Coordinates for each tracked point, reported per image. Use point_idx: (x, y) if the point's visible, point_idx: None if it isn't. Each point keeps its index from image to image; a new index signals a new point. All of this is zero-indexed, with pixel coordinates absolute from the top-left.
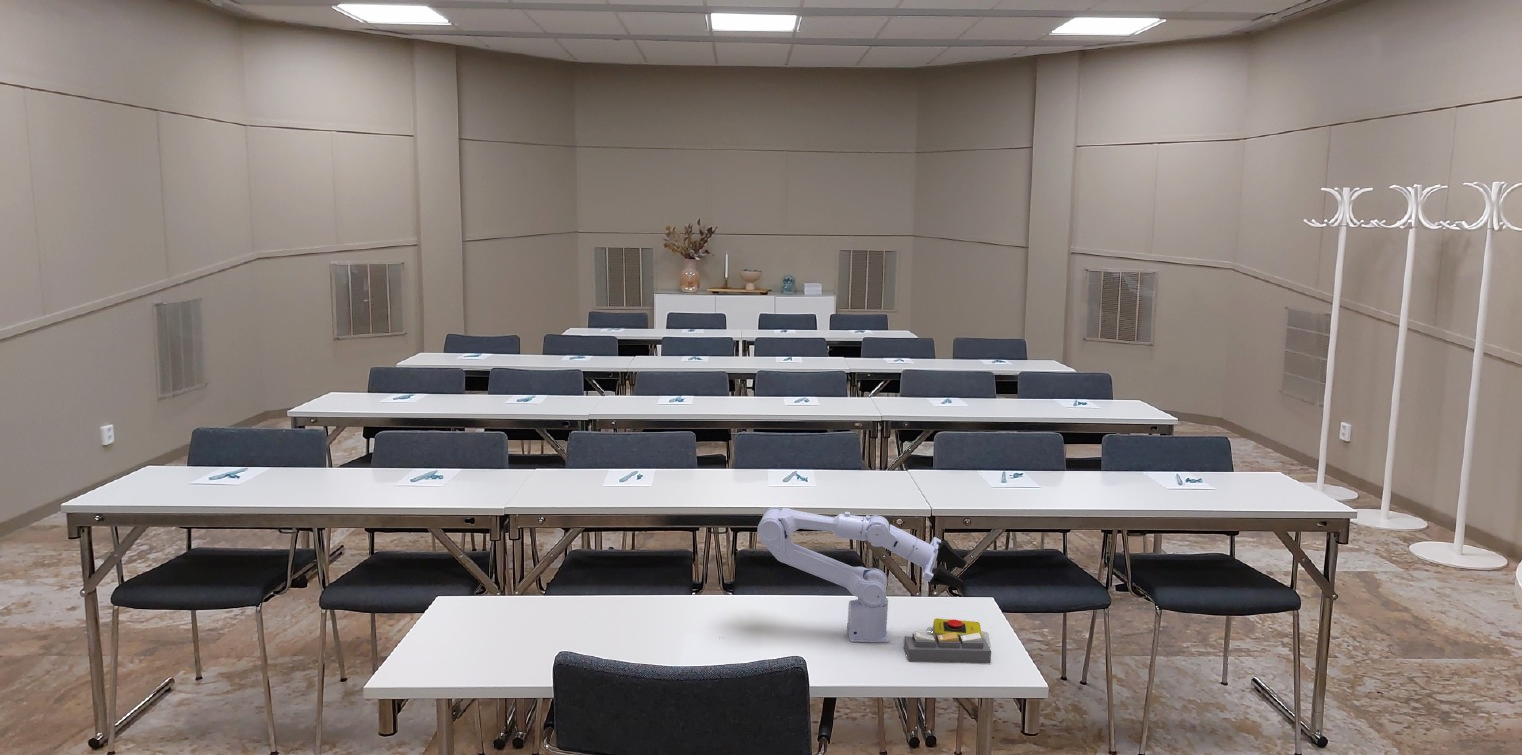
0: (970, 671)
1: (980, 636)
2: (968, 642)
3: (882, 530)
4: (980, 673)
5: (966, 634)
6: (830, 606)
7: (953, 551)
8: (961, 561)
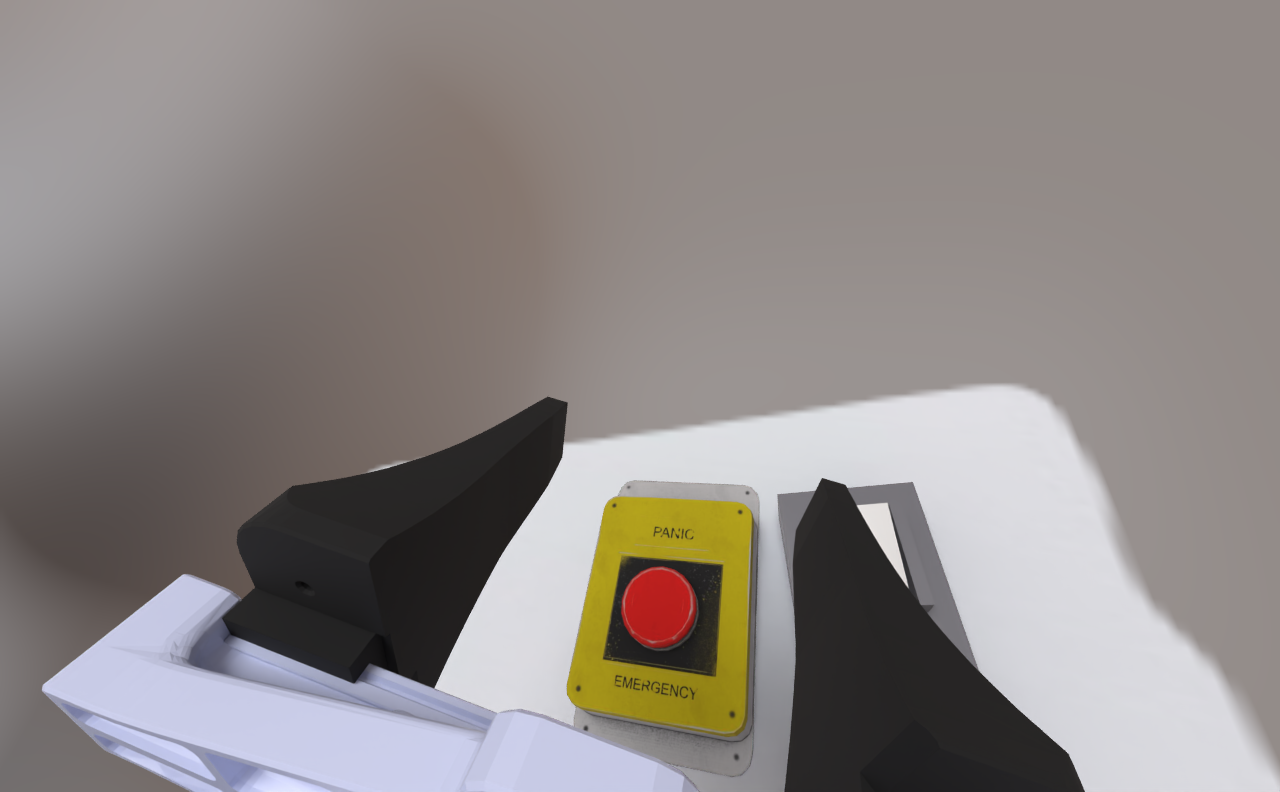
0: (1031, 602)
1: (871, 505)
2: (919, 573)
3: None
4: (1032, 559)
5: (737, 566)
6: None
7: (459, 463)
8: (548, 433)
